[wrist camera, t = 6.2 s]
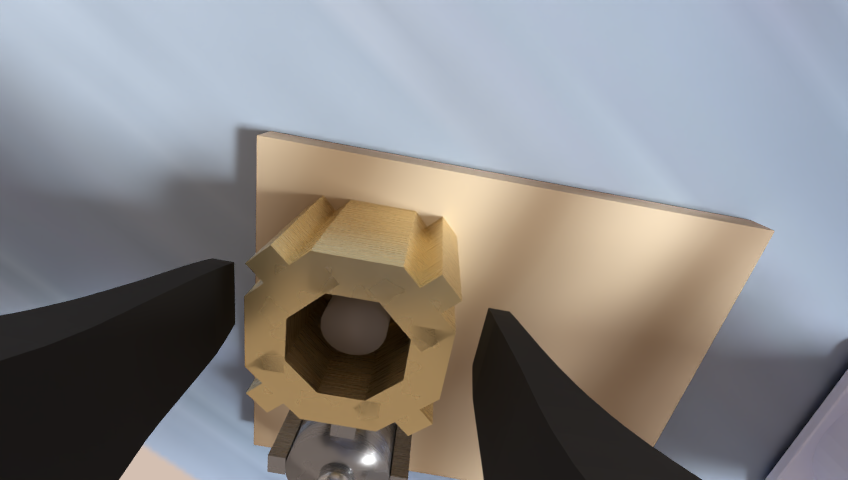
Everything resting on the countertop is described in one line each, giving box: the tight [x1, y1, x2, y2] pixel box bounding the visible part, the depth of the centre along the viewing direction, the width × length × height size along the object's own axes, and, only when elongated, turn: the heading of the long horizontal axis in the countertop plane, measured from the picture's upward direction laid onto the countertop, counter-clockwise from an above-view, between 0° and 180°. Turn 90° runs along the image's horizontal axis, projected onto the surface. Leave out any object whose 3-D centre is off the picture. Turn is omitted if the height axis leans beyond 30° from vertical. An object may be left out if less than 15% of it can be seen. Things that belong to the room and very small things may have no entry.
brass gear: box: [244, 196, 462, 436], centre depth 11 cm, size 5×5×4 cm
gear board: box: [254, 131, 774, 480], centre depth 13 cm, size 16×13×4 cm
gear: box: [268, 410, 412, 480], centre depth 14 cm, size 5×5×3 cm
